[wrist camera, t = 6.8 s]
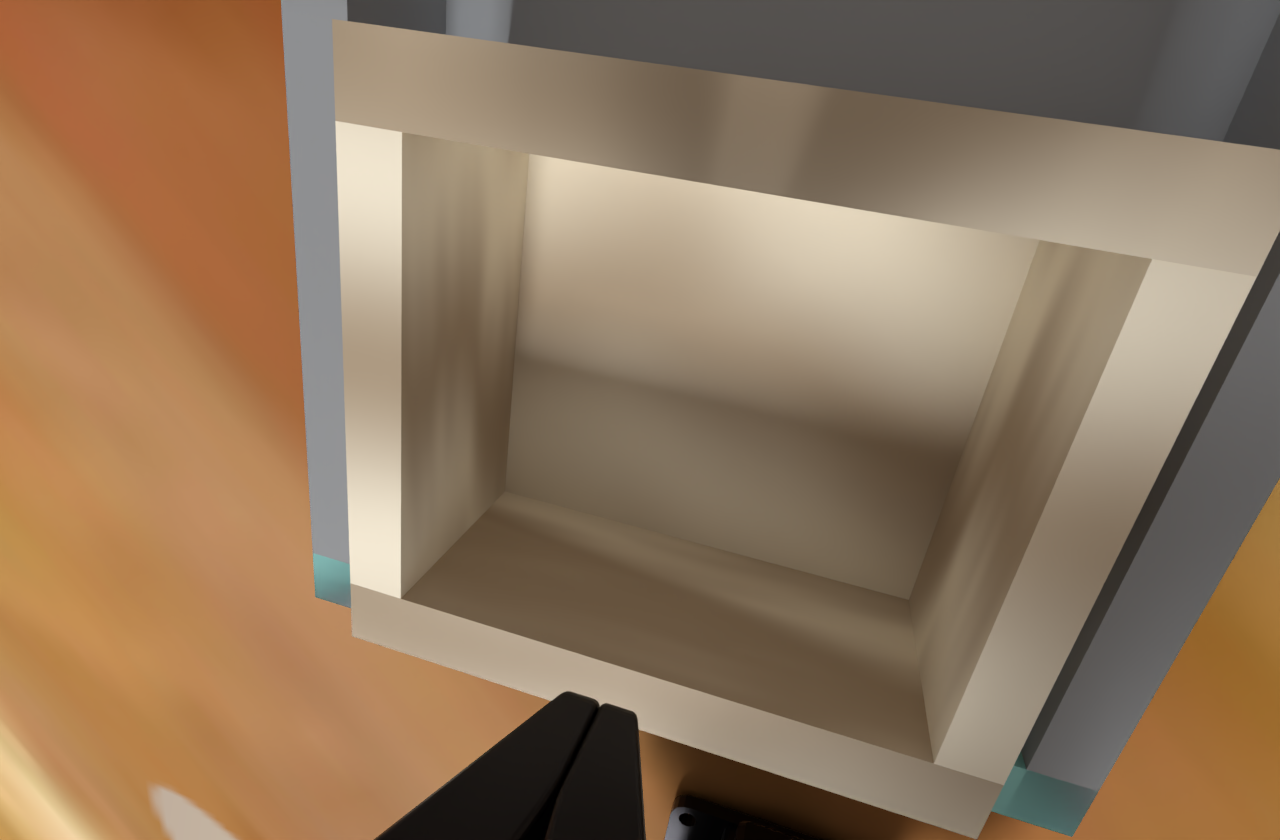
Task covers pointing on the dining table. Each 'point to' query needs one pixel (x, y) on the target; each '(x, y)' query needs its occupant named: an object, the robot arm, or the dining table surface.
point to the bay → (937, 72)
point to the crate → (763, 393)
